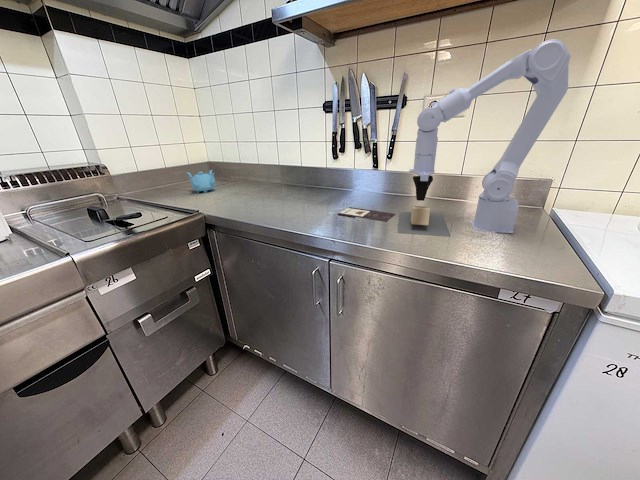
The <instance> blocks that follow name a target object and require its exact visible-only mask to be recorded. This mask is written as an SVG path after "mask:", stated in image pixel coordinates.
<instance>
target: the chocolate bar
mask: <svg viewBox="0 0 640 480" xmlns="http://www.w3.org/2000/svg"><path fill="white" fill-rule="evenodd" d="M337 216H340V217H347V218H351V219H356V218H358V219H359V218H361V219H367V220H372V221H377V222H379V221H380V222H384V223H387V222H388V221H389V220H391V219H392V218H393V217H394V216H396V213H392V212H387V211H378V210H372V209H365V208H360V207H359V208H357V207H352V206H351V207H350V206H349V207H348V208H346V209H344V210H342V211H340V212H338V213H337Z"/></svg>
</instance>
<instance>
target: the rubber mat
mask: <svg viewBox="0 0 640 480" xmlns="http://www.w3.org/2000/svg"><path fill="white" fill-rule="evenodd" d="M411 212H412V211H410V212H409V211H399V212H398V213H399V214H398V221H397V222H398V223H397V234H404V235H405V234H406V235H419V236H422V235H423V236H434V237H446V238H447V237H450V238H451V237H452V235H451V233H450V232H451V231H450V230H449V228H448V224H447V222H446V219H445V216H444V214H443V213H437V212H436V213H433V212H430V215H429V224H428V225H416V224H412V223H411Z"/></svg>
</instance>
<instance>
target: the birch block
mask: <svg viewBox="0 0 640 480" xmlns="http://www.w3.org/2000/svg"><path fill="white" fill-rule="evenodd" d="M410 212H411V223H412V224H416V225H428V224H429V215H430V213H431V208H430V207H429V206H423V205H422V206H421V205H419V206H418V205H412V206H411V211H410Z"/></svg>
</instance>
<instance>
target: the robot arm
mask: <svg viewBox="0 0 640 480" xmlns="http://www.w3.org/2000/svg"><path fill="white" fill-rule="evenodd" d="M570 60H571V53H570V51H569V50H568V48H567V46H566V44H565V43H564V42H563V41H562V40H560V39H557V38H556V39H555V38H554V39H553V38H552V39H548V40H547V39H546V40H545V41H543V42H541V43H539V44H537V46H536V47H535V48H534V49H532V48H530V49H529V50H526V51H524V52H522V53H520V54H518V55H517V56H514V57H512V58H511V59H509V60H508V61H507V62H504V64H502V65H501V66H499V67H497V68H496V69H494V70H493V71H492V72H490V73H488V74H487V75H486V76H484V77H482V78H481V79H480V80H478V81H477V82H476V83H474V84H473V85H470V86H469V87H468V88H464V87H457V89H455V88H453V89H451V90H449V91H448V92H449V94H448V95H446V96H444V97H443V98H441V99H440V100H438V101H437V102H435V101H433V102H432V103H431V107H425V108H424V109H423V110H422V111H421V112H420V113H419V114H418V117H417V120H416V124H417V127H418V129H417V132H416V135H417V137H416V138H415V139H416V140H415V148H414V149H415V150H414V160H413V168H410V169H409V170H408V173H410V174H411V173H412V174H415V175H414V176H412V181H413V182H414V186H415V196H416V201H423V202H424V201H425V200H426V196H427V194H428V193H427V192H428V190H429V188H430V185H431V183H432V182H434V181H433V180H434V177H433V174H435V164H436V156H437V147H438V142H439V141H438V140H439V137H438V133H439V128H438V127H439V126H440V124H441V123H446V122H449V121H450V120H452V119H453V118H455V117H457V116H458V115H460V114H462V113H463V112H465V111H466V110H469V109H470V106H471V105H472V102H473V101H474V100H475V99H476V98H478V97H480V96H481V95H484V94H485V93H487V92H488V91H490V90H492V89H494V88H495V87H497V86H498V85H500V84H502V83H504V82H505V81H510V80H518V79H521V78H522V77H524V78H525V79H526V80H527V81H528V82H529V83H531V84H532V88H533V90H534V92H535V93H536V97H535V99H534V100H533V102H532V104H531V105H530V108H529V109H528V111H527V112H526V114H525V116H524V117H523V119H522V121H521V123H520V125H519V126H518V128H517V130H515V131H516V132H515V133H514V135H513V137H512V138H511V140H510V142H509V144H508V145H507V147H506V149H505V150H504V152H503V153H502V156H501V157H500V159H499V160H498V161H497V162H496V164H495V165H494V167H493V168H492V169H491V170H490V171H489V172H488V173H486V175H485V176H483V178H482V181H481V185H482V188H483V191H482V192H481V193H479V195H478V200H477V205H476V209H475V216H474V220H470V221H469V223H470V224H471V227H473V229H474V231H479V232H493V233H494V232H495V233H499V234H514V228H515V224H516V220H517V216H518V213H519V201H518V200H517V198H511V197H510V195H512V194H513V191H514V183H515V181H516V179H517V178H518V175H519V171H520V168H521V166H522V164H523V163H524V161H525V159H526V158H527V156H528V154H530V153H529V152H531V150H532V148H533V146H534V145H535V143H536V142H537V140H538V138H539V137H540V135H541V134H542V132H543V130H544V129H545V128H546V126H547V124H548V123H549V121H550V120H551V117H552V116H553V114H554V113H555V111H556V110H557V108H558V106H559V104H561V102H562V100H563V99H564V98H565V97H564V96H565V95H566V94H567V91H568V88H569V64H570Z"/></svg>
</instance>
